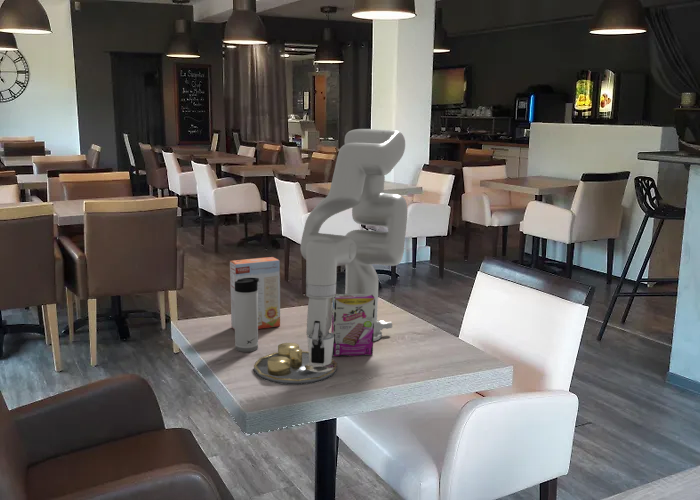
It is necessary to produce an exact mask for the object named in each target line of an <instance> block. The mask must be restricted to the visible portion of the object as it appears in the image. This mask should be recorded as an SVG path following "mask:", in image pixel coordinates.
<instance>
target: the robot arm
mask: <svg viewBox="0 0 700 500" xmlns="http://www.w3.org/2000/svg"><path fill="white" fill-rule="evenodd" d="M405 149H406V140H405V136H404V134H403V133H402V132H401V131H399V130H395V129H378V128H377V129H375V128H374V129H373V128H357V129H352V130H349V131H348V132H346V134H345V135H344V144H343V145H342V146H341V147H340V148H339V150H338V153H337V156H336V161H335V166H334V172H333V176H332V178H331V179H332V180H331V183H330V189H329V192H328V194H327V196H326V197H324V198H323V199H322V200H321V201H319V203H318V204H317V205H316V206H315V207H314V208H313V209H312V210H311V212H310V213H309V214H308V216H307V217H306V220H305V223H304V228H303V231H302V236H301V239H300V254H301V256H302V258H303V259H304V260H305V261H306V262H305V266H306V267H305V269H306V271H305V277H306V278H305V295H306V297H308V305H307V319H306V337H307V336H311V334H312V333H313V336H312V347H311V362H312V363H322V364H323V363H324V348H323V343H324V337H325V336H326V335H327V333H330V330H331V329H332V298H333V297H335V296H336V294H337V270H338V269H337V267H339V266H340V267H341V266H344V267H345V287H344V288H345V290H344V291H345V292H344V294H372V295H373V296H374V297H375V313H374V336H373V342H375V341H378V340H380V339H381V338H382V337H383V332H382V331H383V330H384V329H392V328H393V323H392V321H385V320H379V319H378V310H379V309H378V306H379V305H378V304H379V276H378V273H377V272H376V269H375V267H374V265H376V266H377V265H378V266H386V267H390V266H391V267H395V266H397V265H400V263H401V262H402V260H403V257H404V252H405V244H406V243H405V242H406V234H407V223H408V203H407V201H406V199H405V198H404V196H402V195H400V194H397V193H385V192H384V189H385V180H386V179H385V178H386V177H385V176H387V175H388V174H389V173H391V171H392V170H393V169H394V168H395V166H396V165H397V164H398V163H399V162H400V160H402V157H403V156H404V153H405ZM350 209H351V214H352V215H351V216H352V220H353V221H354V223H356V224H359V225H362V226H372V227H382V228H383V227H385V228H387V231H380V230H372V229H368V230H367V229H353V230H351V231H349V232H347V233H346V234H345V235H341V234H333V233H332V234H331V233H320V229H321V227H322V225H323V224H324V223H325V222H326V221H327V220H328V219H330V218H331V217H333V216H335V215H337V214H339V213H342V212H344V211H346V210H350ZM319 333H322V336H319ZM319 338H321V341H320V340H319Z"/></svg>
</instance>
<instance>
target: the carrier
mask: <svg viewBox="0 0 700 500" xmlns="http://www.w3.org/2000/svg"><path fill="white" fill-rule="evenodd" d="M253 369H254V373H255V375H256V376H257V377H259V378H260V379H262V380H264V381H267V382H270V383H275V384H279V385H280V384H281V385H293V386H294V385H295V386H296V385H297V386H298V385H300V386H301V385H309V384H311V385H312V384H316V383H320V382H323V381H326V380H328V379H330V378H332V377H334V375H336V373H337V370H338V363H337V362H336V361H335V360H334V359H333V358H332V361H331V363H330V364H328V365H323V366H318V365H313V364H311V363H310V362H309V352H308V350H307V351H304V350H303V349H302V348H301V347H300V344H298V343H296V342H282V343H280V344H278V346H277V352H273V353H270V354H266V355H264V356H262V357H259V358H258V360H257V361H256V362H255V363H254V364H253Z"/></svg>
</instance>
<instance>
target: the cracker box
mask: <svg viewBox="0 0 700 500" xmlns="http://www.w3.org/2000/svg"><path fill="white" fill-rule="evenodd" d="M280 261H281V260H279V259H278V258H276V257H274V256H271V257H270V256H269V257H256V258H247V259H237V260H236V259H234V260H229V280H230V281H229V282H230V284H229V285H230V315H231V316H230V318H231V321H230V322H231V326H230V327H231V329H233V330H234V331H235V281H237V280H239V279H243V278H259V281H258V286H257V287H258V330H261V329H269V328H276V327H280V326H281V282H280V281H281V274H280V273H281V272H280V271H281V270H280V267H281V262H280Z"/></svg>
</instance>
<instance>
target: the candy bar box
mask: <svg viewBox="0 0 700 500" xmlns="http://www.w3.org/2000/svg"><path fill="white" fill-rule="evenodd" d="M374 313H375V297H374V296H373V295H372V294H345V293H336V296H335V297H333V298H332V322H331V328H330V330H331V332H330V333H332V334H333V335H334V343H333V352H332V357H354V356H356V357H357V356H358V357H359V356H373V353H374V341H373V336H374Z"/></svg>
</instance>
